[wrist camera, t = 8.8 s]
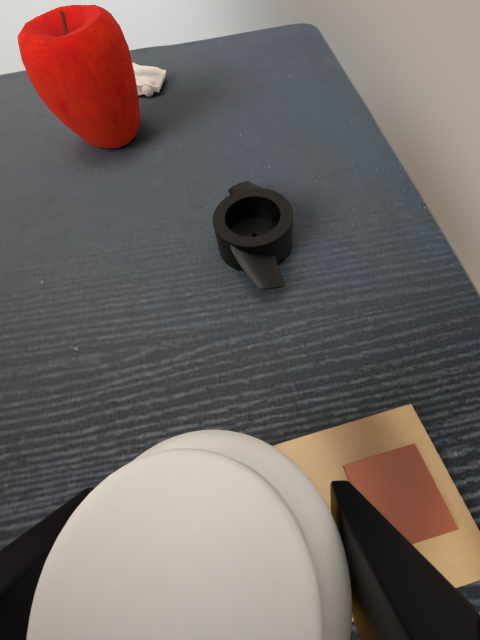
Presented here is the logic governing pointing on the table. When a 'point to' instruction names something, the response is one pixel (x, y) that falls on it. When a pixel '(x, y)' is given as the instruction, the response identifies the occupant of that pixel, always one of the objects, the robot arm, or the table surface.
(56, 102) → the apple
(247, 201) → the black hollow round piece
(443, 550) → the wood board
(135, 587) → the supplement bottle
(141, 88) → the toy car
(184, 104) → the table surface
